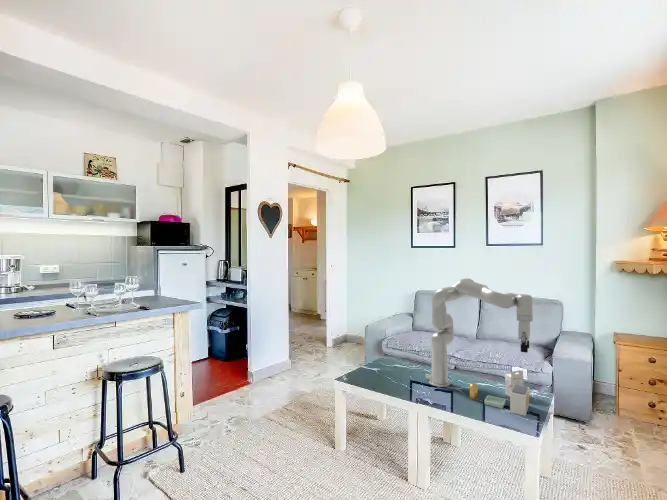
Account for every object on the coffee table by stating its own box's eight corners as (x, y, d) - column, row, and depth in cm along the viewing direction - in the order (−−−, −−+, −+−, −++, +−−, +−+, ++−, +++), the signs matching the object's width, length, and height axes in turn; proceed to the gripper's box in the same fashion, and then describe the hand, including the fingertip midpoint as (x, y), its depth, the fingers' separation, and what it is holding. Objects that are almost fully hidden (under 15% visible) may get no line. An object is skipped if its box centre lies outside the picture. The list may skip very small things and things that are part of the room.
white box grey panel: (510, 412, 186) (510, 391, 186) (514, 402, 198) (514, 383, 198) (526, 416, 182) (526, 395, 182) (529, 406, 193) (529, 386, 193)
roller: (468, 399, 202) (469, 384, 202) (470, 396, 206) (470, 382, 205) (476, 400, 200) (476, 386, 200) (478, 398, 203) (478, 384, 203)
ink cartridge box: (517, 392, 211) (517, 367, 211) (523, 396, 206) (523, 370, 206) (504, 394, 209) (504, 368, 209) (511, 397, 204) (511, 371, 204)
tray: (484, 404, 195) (484, 400, 195) (487, 398, 203) (487, 395, 203) (502, 408, 190) (502, 404, 190) (505, 402, 198) (505, 398, 198)
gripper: (518, 314, 204) (518, 345, 204) (514, 319, 189) (515, 352, 189) (533, 315, 200) (534, 347, 200) (531, 321, 185) (531, 354, 185)
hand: (525, 349), depth 194 cm, fingers open, 9 cm apart
